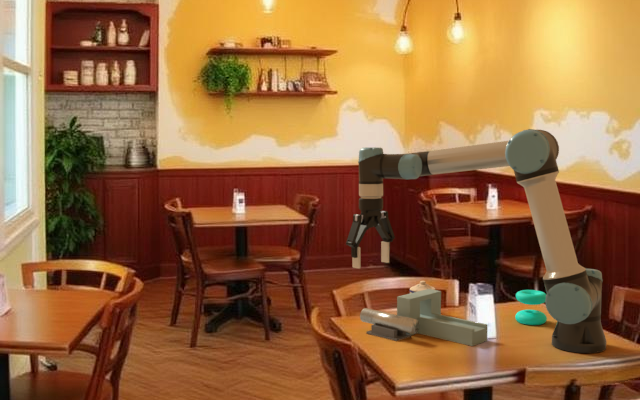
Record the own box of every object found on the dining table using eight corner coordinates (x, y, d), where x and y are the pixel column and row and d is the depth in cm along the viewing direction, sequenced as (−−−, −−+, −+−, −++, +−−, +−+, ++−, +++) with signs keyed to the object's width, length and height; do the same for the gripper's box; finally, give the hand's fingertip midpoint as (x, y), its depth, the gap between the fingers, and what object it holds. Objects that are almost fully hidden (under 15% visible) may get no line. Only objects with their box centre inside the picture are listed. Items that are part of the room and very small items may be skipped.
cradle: (411, 336, 233) (411, 327, 232) (396, 341, 228) (396, 332, 228) (381, 329, 241) (381, 320, 241) (366, 333, 236) (366, 324, 236)
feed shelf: (487, 340, 228) (487, 324, 228) (472, 346, 222) (472, 329, 222) (433, 328, 242) (433, 312, 242) (417, 333, 237) (417, 317, 236)
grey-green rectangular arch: (440, 326, 245) (441, 291, 244) (409, 335, 234) (409, 299, 233) (428, 323, 249) (428, 288, 247) (396, 332, 237) (397, 296, 236)
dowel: (418, 334, 228) (420, 319, 229) (409, 333, 225) (411, 318, 225) (368, 322, 242) (370, 308, 243) (359, 321, 239) (361, 307, 240)
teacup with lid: (434, 318, 254) (435, 284, 253) (407, 317, 256) (407, 283, 255) (437, 310, 266) (438, 277, 265) (411, 309, 268) (411, 276, 267)
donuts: (522, 287, 256) (552, 291, 250) (522, 316, 257) (551, 321, 251) (510, 292, 248) (540, 296, 242) (510, 322, 249) (539, 327, 243)
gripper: (387, 194, 247) (387, 258, 249) (334, 199, 230) (334, 268, 232) (405, 195, 242) (405, 261, 244) (352, 200, 224) (352, 271, 226)
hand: (371, 265), depth 238 cm, fingers open, 13 cm apart
